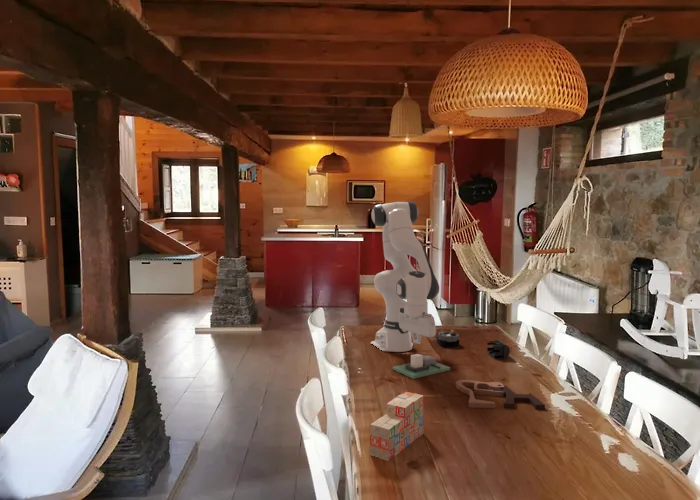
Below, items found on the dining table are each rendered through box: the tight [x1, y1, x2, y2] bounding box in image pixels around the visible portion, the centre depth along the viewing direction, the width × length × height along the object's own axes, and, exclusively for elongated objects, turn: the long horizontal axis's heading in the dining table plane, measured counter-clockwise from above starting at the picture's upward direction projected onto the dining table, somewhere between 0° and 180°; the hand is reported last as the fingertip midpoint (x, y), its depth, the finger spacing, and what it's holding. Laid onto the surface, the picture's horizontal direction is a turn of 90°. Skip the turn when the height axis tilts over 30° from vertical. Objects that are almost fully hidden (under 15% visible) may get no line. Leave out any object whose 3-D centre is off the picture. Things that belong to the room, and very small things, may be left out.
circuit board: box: [392, 354, 451, 380], centre depth 219 cm, size 14×20×4 cm
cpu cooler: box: [436, 331, 460, 348], centre depth 258 cm, size 10×6×10 cm
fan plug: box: [410, 353, 424, 368], centre depth 216 cm, size 3×5×6 cm, turn 122°
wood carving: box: [455, 379, 546, 411], centre depth 189 cm, size 28×2×24 cm
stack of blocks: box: [369, 391, 425, 462], centre depth 151 cm, size 21×6×12 cm, turn 146°
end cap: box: [486, 339, 511, 360], centre depth 238 cm, size 10×7×7 cm
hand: (416, 343), depth 215 cm, fingers closed
